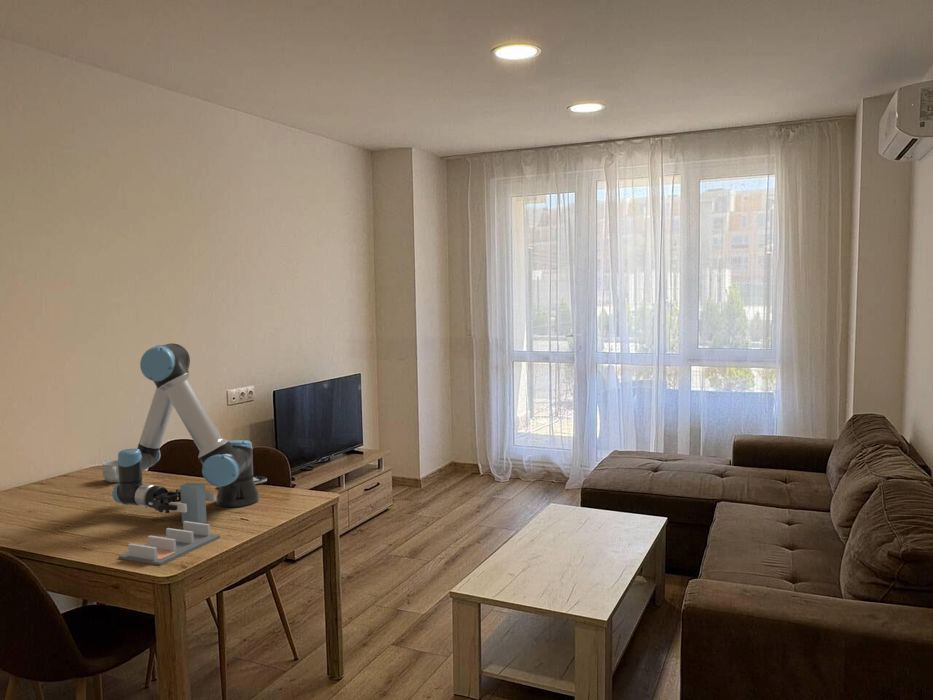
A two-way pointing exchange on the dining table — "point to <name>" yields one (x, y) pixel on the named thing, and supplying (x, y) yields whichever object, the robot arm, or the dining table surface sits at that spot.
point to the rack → (171, 544)
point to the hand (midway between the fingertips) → (200, 502)
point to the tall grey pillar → (194, 502)
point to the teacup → (111, 471)
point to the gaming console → (259, 480)
